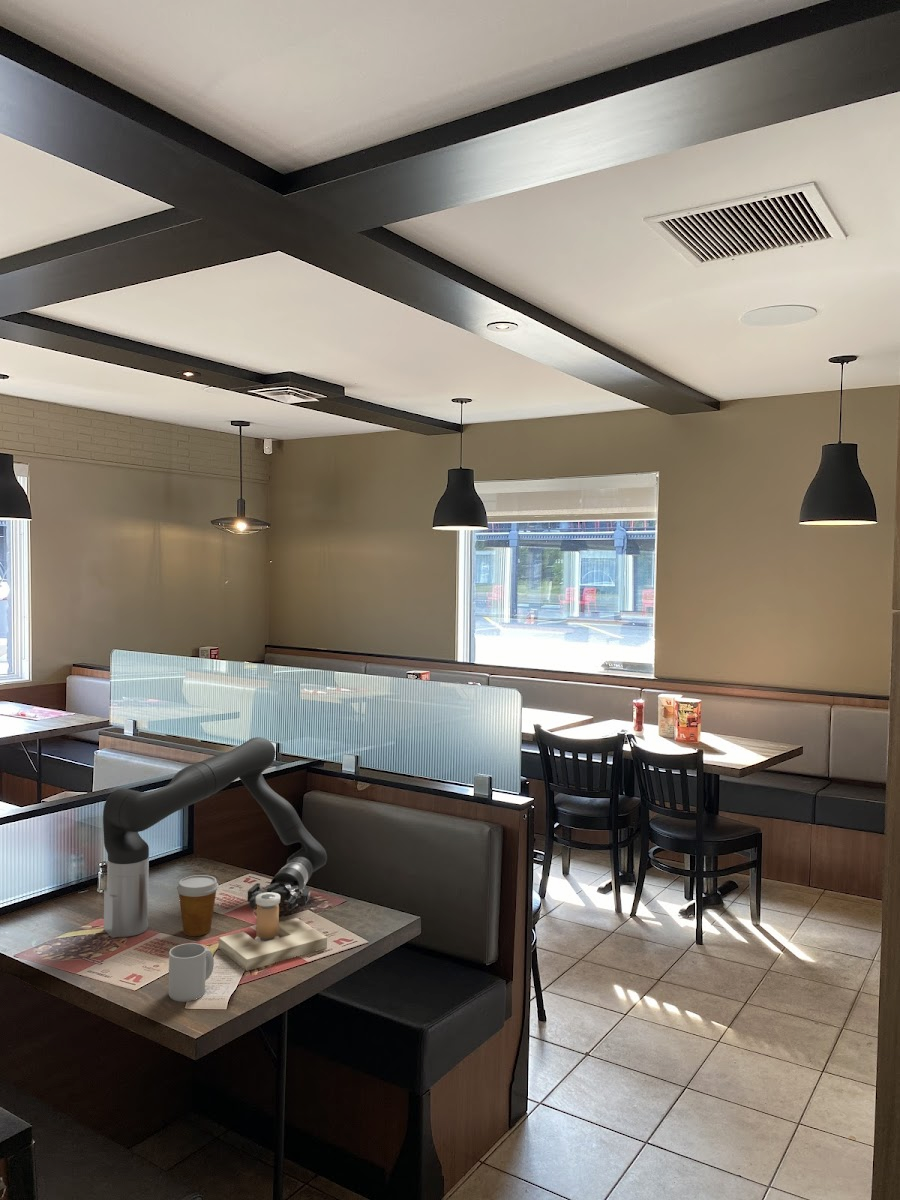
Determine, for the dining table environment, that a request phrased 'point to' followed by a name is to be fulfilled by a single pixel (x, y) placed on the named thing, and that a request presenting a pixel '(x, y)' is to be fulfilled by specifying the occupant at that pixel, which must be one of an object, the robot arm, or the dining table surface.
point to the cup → (189, 971)
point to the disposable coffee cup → (197, 903)
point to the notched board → (273, 945)
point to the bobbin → (267, 916)
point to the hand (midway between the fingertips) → (270, 905)
